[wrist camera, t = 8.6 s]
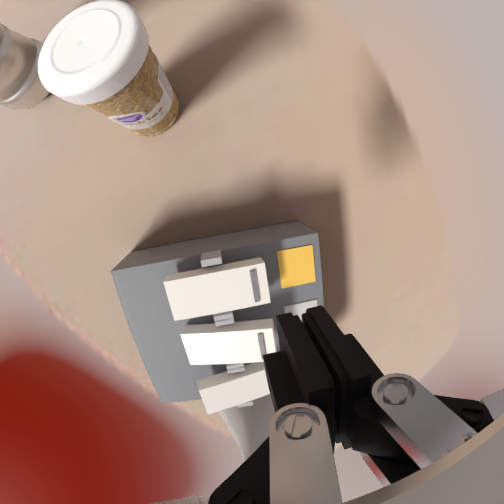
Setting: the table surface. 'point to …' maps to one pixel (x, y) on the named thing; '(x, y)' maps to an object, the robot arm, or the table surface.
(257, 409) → the flask
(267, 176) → the table surface
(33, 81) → the plastic bottle
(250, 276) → the switch
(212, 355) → the switch
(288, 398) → the robot arm
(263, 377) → the switch
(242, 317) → the console
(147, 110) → the sprinkles bottle
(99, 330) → the table surface
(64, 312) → the table surface
